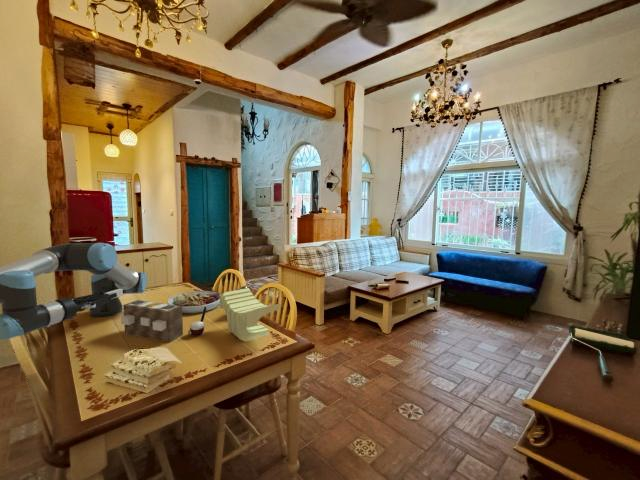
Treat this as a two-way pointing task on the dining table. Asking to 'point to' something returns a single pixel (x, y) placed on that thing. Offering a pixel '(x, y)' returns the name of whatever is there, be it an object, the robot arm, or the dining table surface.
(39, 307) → the robot arm
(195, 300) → the bowl
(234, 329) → the slatted curved stool
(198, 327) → the cocoa
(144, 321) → the middle button
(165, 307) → the button panel
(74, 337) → the dining table surface
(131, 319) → the button
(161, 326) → the button
